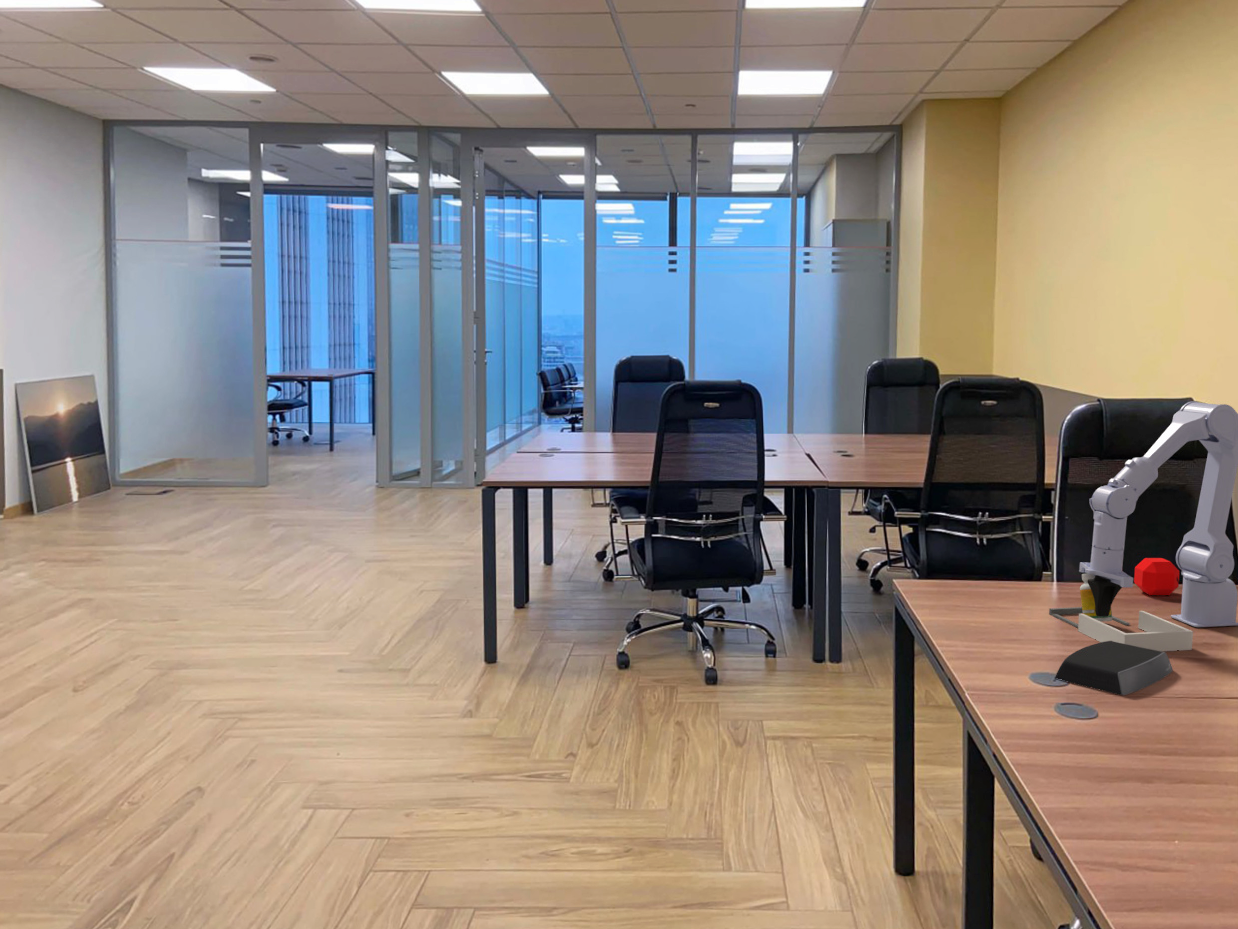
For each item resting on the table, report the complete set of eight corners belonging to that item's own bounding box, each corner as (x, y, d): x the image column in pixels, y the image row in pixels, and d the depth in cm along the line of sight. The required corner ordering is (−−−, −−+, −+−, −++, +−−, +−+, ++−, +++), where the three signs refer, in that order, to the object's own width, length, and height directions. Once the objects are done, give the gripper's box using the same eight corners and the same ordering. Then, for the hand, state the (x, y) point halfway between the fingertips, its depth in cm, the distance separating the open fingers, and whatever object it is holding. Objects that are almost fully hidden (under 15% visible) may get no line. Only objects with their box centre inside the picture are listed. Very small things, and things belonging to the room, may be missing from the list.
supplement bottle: (1097, 621, 221) (1092, 574, 223) (1118, 620, 216) (1113, 572, 218) (1077, 622, 219) (1072, 574, 221) (1098, 621, 214) (1093, 572, 216)
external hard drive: (1177, 674, 189) (1179, 651, 188) (1126, 699, 176) (1128, 675, 175) (1102, 657, 198) (1103, 635, 198) (1049, 680, 186) (1050, 657, 185)
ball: (1182, 598, 239) (1184, 563, 238) (1145, 598, 239) (1147, 563, 238) (1165, 589, 247) (1167, 556, 246) (1129, 589, 247) (1131, 556, 246)
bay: (1141, 628, 215) (1142, 610, 215) (1191, 649, 201) (1193, 631, 201) (1078, 631, 213) (1078, 613, 213) (1123, 653, 199) (1124, 634, 198)
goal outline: (1099, 611, 228) (1099, 606, 227) (1129, 625, 217) (1129, 619, 217) (1049, 614, 226) (1049, 608, 226) (1077, 627, 216) (1077, 621, 216)
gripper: (1068, 540, 220) (1062, 606, 222) (1111, 554, 206) (1105, 625, 207) (1100, 541, 221) (1093, 606, 223) (1145, 555, 207) (1138, 625, 208)
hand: (1101, 615), depth 215 cm, fingers closed, pressing on supplement bottle
